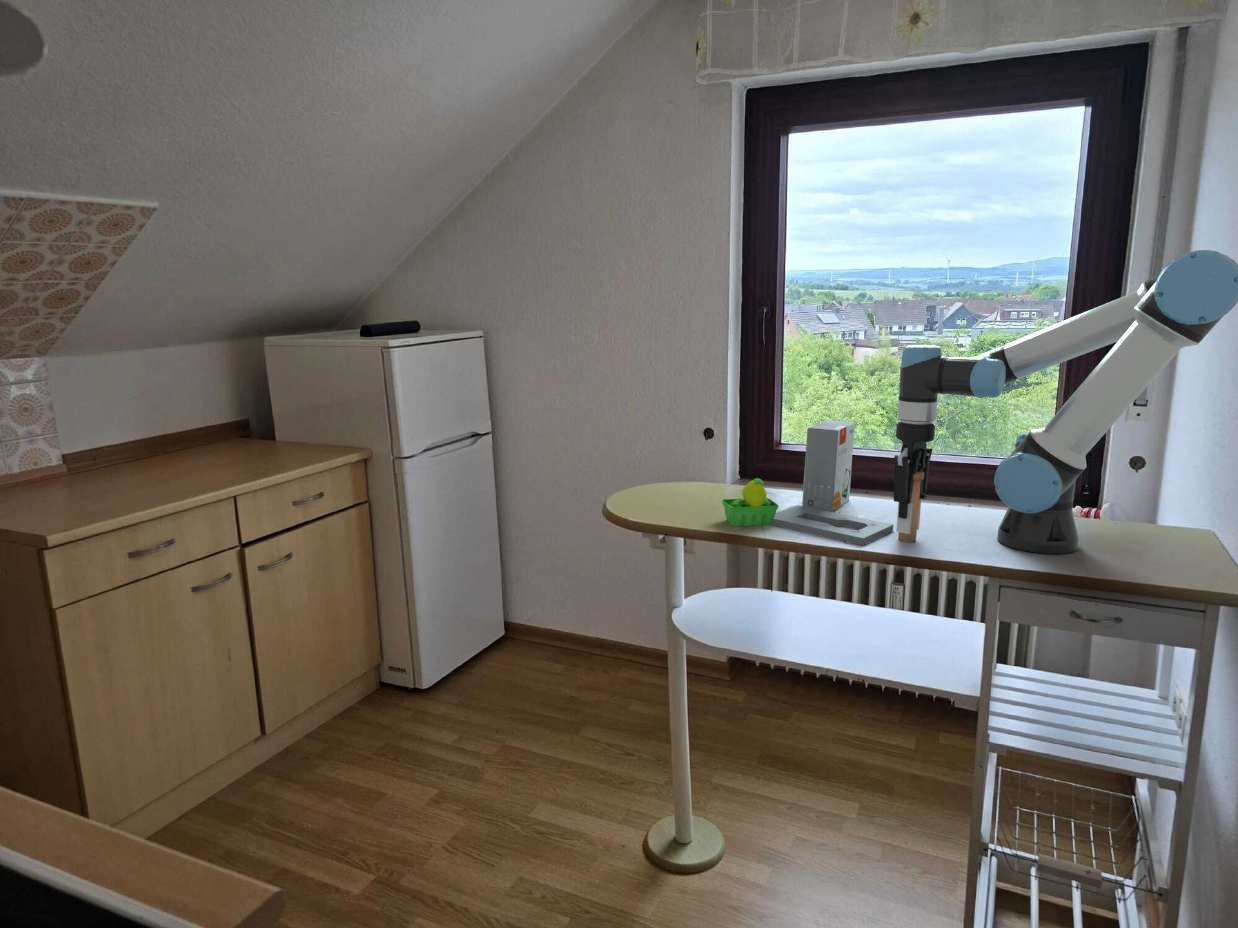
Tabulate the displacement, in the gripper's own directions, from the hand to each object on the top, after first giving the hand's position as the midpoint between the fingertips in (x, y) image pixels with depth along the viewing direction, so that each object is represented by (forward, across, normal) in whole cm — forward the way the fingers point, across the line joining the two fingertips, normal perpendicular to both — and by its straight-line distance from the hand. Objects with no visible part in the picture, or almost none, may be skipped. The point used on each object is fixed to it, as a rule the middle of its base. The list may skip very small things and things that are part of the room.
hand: (907, 530), depth 178 cm
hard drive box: (+2, -14, -27) cm, 31 cm away
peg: (+2, 0, 0) cm, 2 cm away
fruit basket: (+3, +12, -32) cm, 34 cm away
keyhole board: (+2, +3, -17) cm, 17 cm away
